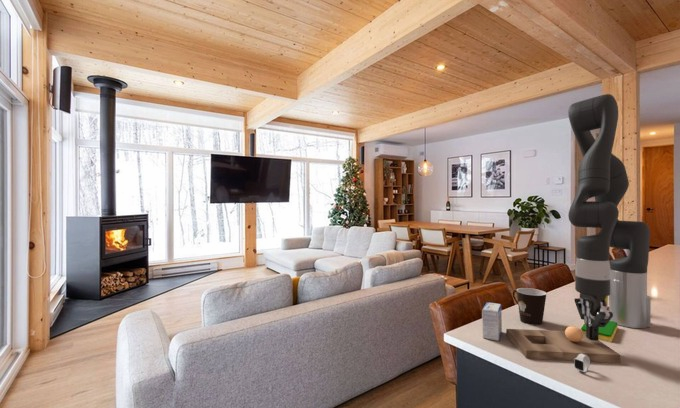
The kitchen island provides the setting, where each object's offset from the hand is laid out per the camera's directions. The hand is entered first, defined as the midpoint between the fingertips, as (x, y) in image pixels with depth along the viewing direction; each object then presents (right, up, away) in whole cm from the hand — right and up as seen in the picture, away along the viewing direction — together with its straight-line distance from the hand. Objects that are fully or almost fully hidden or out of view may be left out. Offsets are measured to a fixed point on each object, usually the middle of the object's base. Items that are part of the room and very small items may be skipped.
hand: (592, 339), depth 89 cm
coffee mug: (-4, -3, +22) cm, 22 cm away
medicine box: (-22, -3, +10) cm, 25 cm away
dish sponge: (+11, -3, +12) cm, 17 cm away
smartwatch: (-10, -4, -11) cm, 15 cm away
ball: (-4, +1, +1) cm, 5 cm away
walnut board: (-8, -3, +1) cm, 9 cm away
